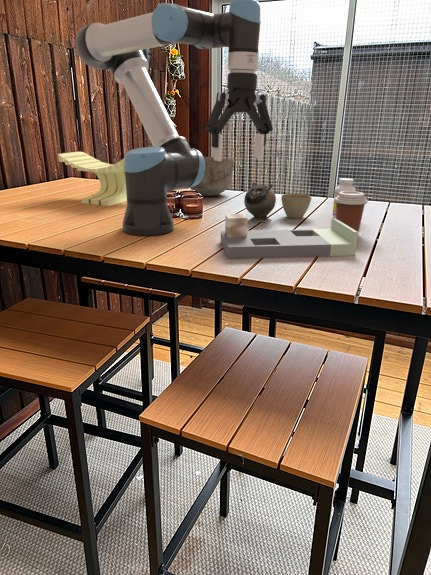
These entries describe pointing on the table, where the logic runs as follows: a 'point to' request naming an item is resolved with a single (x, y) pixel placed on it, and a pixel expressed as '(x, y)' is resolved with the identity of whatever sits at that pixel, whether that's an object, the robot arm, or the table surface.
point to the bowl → (215, 176)
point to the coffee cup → (350, 208)
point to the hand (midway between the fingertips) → (238, 159)
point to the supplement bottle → (344, 185)
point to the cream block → (236, 225)
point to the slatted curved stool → (100, 177)
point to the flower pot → (295, 205)
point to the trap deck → (292, 243)
